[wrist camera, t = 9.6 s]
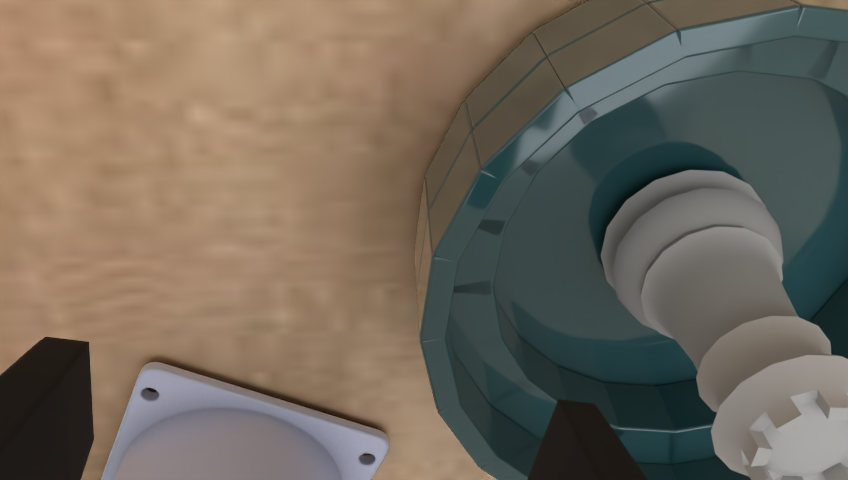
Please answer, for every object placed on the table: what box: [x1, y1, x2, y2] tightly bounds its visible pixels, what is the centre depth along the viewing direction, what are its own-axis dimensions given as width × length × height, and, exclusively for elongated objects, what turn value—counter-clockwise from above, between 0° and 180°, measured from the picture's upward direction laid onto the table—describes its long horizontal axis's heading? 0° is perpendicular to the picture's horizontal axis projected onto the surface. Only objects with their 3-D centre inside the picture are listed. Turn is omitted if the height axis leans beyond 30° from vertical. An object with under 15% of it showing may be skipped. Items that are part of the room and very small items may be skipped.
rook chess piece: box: [601, 170, 848, 480], centre depth 18 cm, size 4×4×8 cm
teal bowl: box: [414, 0, 848, 480], centre depth 20 cm, size 14×14×4 cm
